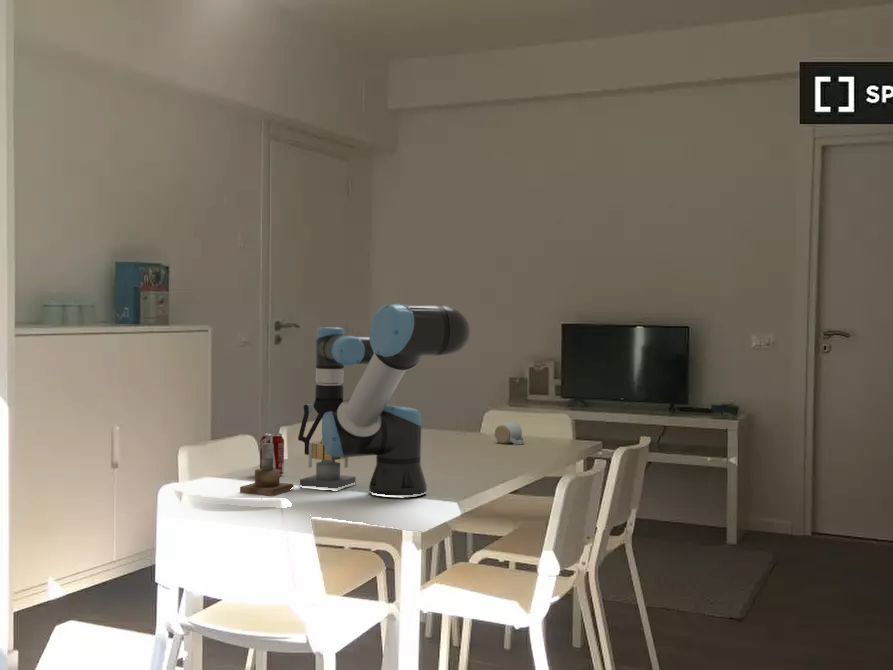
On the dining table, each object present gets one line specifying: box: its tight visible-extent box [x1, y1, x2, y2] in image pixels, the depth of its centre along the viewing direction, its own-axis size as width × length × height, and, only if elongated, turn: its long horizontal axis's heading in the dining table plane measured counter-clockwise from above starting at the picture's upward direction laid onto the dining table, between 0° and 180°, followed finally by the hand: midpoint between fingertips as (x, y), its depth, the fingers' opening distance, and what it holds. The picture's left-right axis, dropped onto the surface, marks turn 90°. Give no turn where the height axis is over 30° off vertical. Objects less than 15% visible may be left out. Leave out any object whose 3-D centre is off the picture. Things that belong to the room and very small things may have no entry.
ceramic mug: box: [494, 421, 525, 446], centre depth 360 cm, size 11×8×8 cm
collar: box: [311, 440, 345, 461], centre depth 265 cm, size 9×9×4 cm
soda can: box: [259, 432, 285, 475], centre depth 281 cm, size 7×7×12 cm
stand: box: [239, 443, 294, 497], centre depth 257 cm, size 10×10×12 cm
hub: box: [299, 436, 357, 488], centre depth 265 cm, size 11×11×13 cm
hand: (328, 466), depth 265 cm, fingers closed on collar, 9 cm apart
